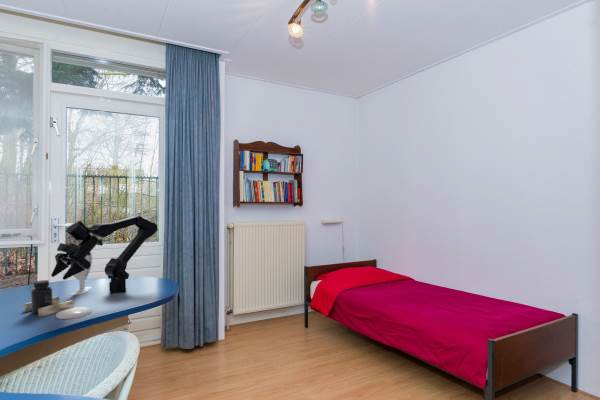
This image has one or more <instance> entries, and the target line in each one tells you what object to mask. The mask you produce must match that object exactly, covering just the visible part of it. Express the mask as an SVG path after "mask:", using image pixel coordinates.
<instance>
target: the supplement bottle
mask: <svg viewBox="0 0 600 400" xmlns="http://www.w3.org/2000/svg"><path fill="white" fill-rule="evenodd" d="M52 297H53V288H52V287H50V282H49V280H47V279H46V280H45V279H44V280H42V279H41V280H38V281H34V282H33V289H32V290H31V292H30V302H31V305H32V310H31V313H32V314H34V315H38V308H42V307H46V306H50V305H53V300H52Z"/></svg>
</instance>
